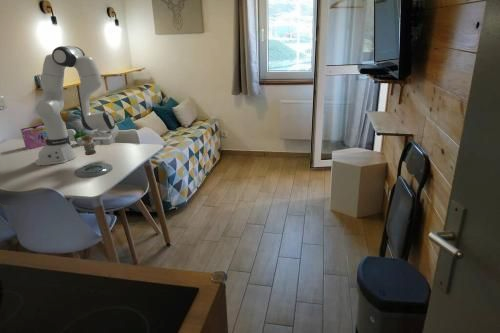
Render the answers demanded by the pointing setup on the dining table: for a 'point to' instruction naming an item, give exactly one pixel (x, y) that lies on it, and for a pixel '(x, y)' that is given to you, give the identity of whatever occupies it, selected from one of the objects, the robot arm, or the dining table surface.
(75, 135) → the green shrub
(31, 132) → the gum box
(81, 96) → the robot arm
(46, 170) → the dining table surface
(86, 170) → the grey plate
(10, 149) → the dining table surface
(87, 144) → the bead spool
